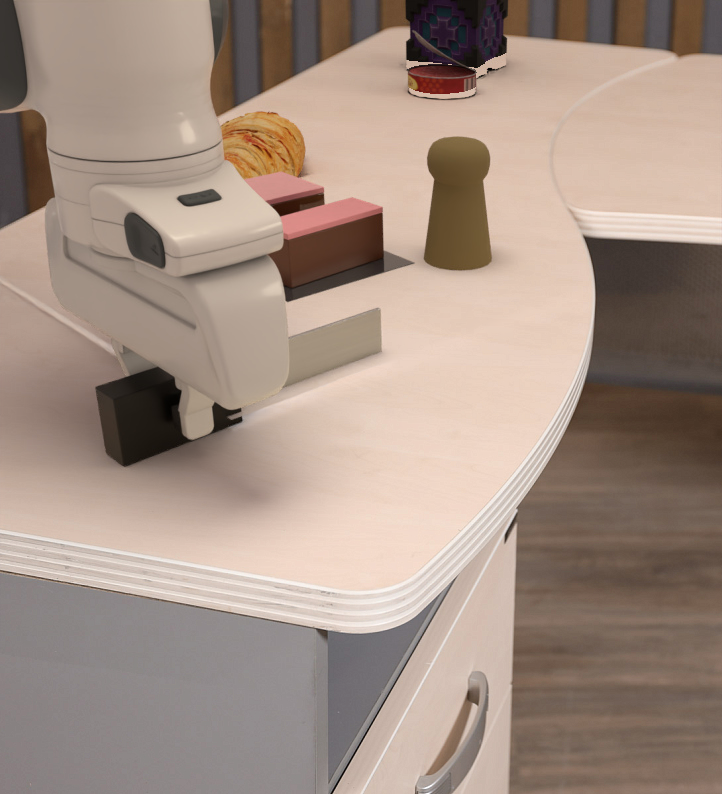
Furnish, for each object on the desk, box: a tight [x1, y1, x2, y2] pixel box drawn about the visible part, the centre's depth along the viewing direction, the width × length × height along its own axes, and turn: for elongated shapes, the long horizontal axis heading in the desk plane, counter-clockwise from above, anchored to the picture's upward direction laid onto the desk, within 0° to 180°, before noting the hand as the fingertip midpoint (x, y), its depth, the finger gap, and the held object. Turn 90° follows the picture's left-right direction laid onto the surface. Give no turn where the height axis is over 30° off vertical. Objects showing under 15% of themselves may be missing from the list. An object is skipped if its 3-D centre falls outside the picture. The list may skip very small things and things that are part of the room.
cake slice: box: [267, 196, 385, 288], centre depth 89 cm, size 4×10×4 cm, turn 140°
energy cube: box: [404, 0, 509, 68], centre depth 169 cm, size 12×12×12 cm
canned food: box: [407, 30, 477, 94], centre depth 154 cm, size 11×10×10 cm
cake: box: [244, 172, 415, 303], centre depth 92 cm, size 18×13×5 cm
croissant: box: [220, 110, 306, 179], centre depth 113 cm, size 21×10×8 cm, turn 173°
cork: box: [423, 136, 493, 272], centre depth 91 cm, size 6×6×11 cm
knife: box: [94, 307, 383, 467], centre depth 69 cm, size 20×2×4 cm, turn 137°
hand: (172, 418), depth 65 cm, fingers open, 3 cm apart
